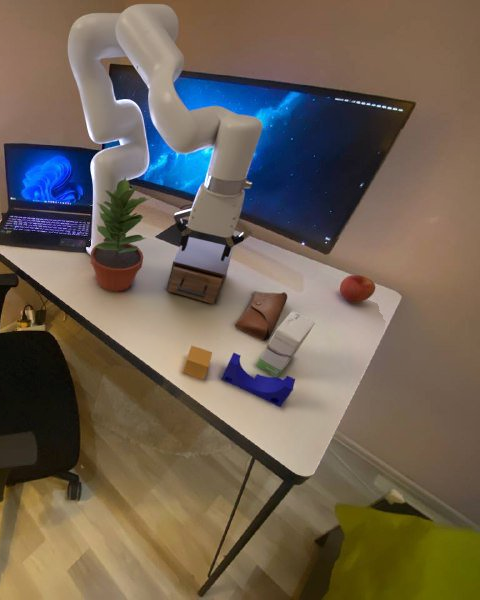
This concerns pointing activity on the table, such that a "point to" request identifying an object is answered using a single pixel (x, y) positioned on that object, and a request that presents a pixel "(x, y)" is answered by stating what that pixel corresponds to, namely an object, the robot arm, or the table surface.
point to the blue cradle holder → (258, 382)
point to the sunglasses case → (262, 314)
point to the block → (197, 362)
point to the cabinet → (203, 259)
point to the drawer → (194, 284)
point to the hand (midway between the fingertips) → (203, 253)
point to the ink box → (285, 343)
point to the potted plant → (118, 241)
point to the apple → (356, 288)
